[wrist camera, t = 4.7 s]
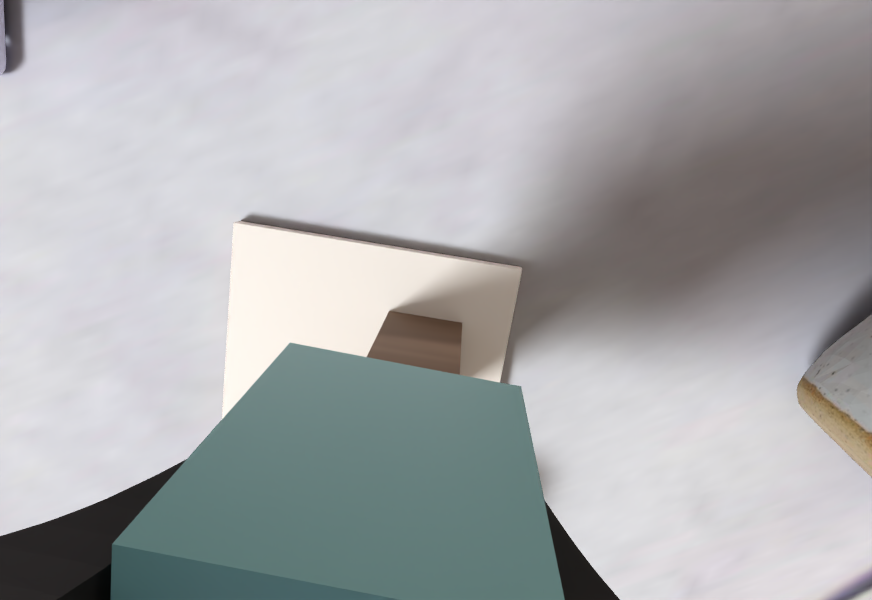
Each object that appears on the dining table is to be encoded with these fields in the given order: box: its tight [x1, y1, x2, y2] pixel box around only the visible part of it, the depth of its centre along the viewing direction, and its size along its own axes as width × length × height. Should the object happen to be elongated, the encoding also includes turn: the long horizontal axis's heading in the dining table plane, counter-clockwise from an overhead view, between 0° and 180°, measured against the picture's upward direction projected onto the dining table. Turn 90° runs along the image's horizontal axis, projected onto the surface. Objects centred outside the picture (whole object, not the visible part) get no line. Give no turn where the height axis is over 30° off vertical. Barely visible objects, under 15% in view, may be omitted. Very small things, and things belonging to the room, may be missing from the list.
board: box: [222, 221, 522, 419], centre depth 22 cm, size 13×10×1 cm
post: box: [367, 311, 462, 375], centre depth 18 cm, size 3×3×5 cm
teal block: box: [111, 343, 565, 600], centre depth 10 cm, size 5×5×7 cm
